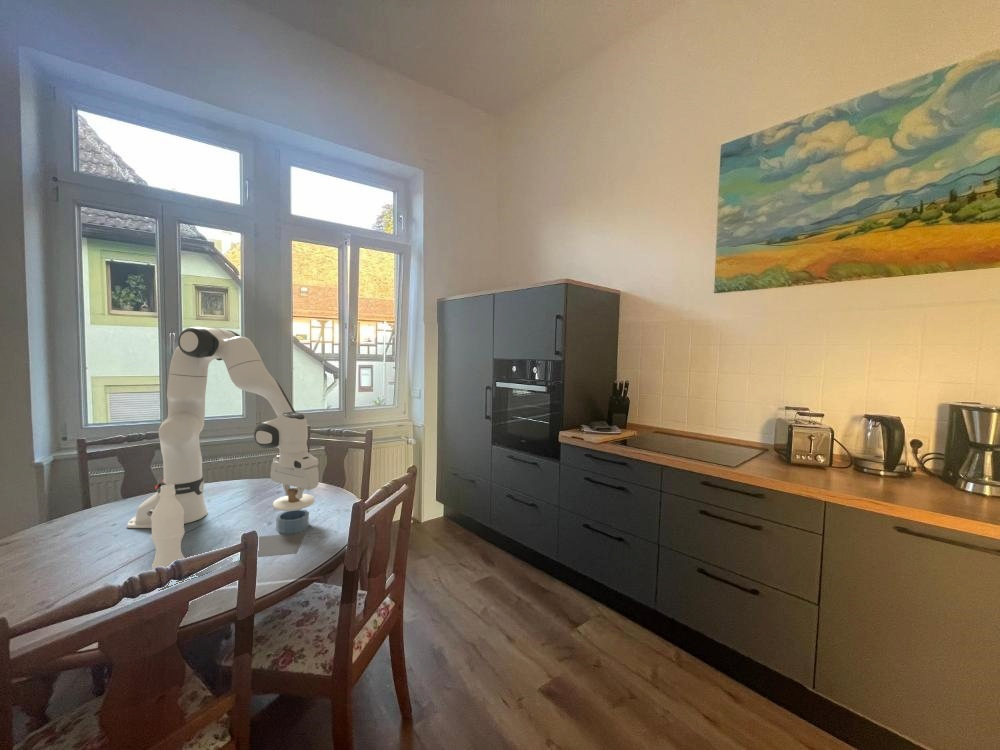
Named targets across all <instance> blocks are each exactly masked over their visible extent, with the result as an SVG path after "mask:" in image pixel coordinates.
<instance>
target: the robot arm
mask: <svg viewBox="0 0 1000 750" xmlns="http://www.w3.org/2000/svg"><path fill="white" fill-rule="evenodd" d="M177 345H178V346H177V347H176V348H175V349H174V352H173V354H172V358H171V361H170V365H169V371H168V379H167V390H166V399H167V417H166V419H164V421H162V422H161V424H160V426H159V428H158V438H159V444H160V445H159V446H160V451H161V455H162V461H163V465H162V467H163V479H162V480H161V481H160V482H159V483H157V485H155V486H154V487H155V490H157V492H156V493H154V494H153V495H151V496H150V497H149V498H147V499H145V501H143V502H142V503H140V504H139V506H138V508H137V509H136V514H135V516H132V518H131V519H130V520H128V521H127V523H126V524H127V525H126V527H127V528H129V529H152V520H151V515H152V513H153V511H154V509H155V507H156V506H157V504H158V502H159V500H160V496H159V494H160V492H161V489H160V487H161V486H163V485H167V484H174V487H175V489H174V490H175V492H176V493H175V497H176V499H177V500H178V502H179V503H180V504H181V506H182V507H183V509H184V524H189V523H193V522H195V521H197V520H200V519H203V518H204V517H205V516H207V515H208V513H209V512H208V509H207V507H206V503H205V497H204V489H205V481H204V476H203V456H202V452H201V444H200V443H201V442H200V433H201V432H202V431H203V429H204V428H205V417H206V416H205V415H206V414H205V413H206V391H207V383H208V382H207V381H208V371H209V365H210V363H211V362H212V361H214V360H217V361H223V362H224V364H225V367H226V370H227V372H228V375H229V378H230V380H231V382H232V383H233V384H234V386H235V387H236V388H238V389H240V390H242V391H244V392H247V393H253V394H256V395H259V396H261V397H263V398H264V399H266V400H267V401H268V402H269V404H270V406H271V407H272V409H273V411H274V413H275V415H276V416H277V417H276V418H274V419H270V420H267V421H264V422H261V423H258V425H257V426H256V427H255V429H254V431H253V439H254V441H255V444H256V445H257V446H258V447H260V448H261V449H269V450H270V449H274V448H278V449H279V451H278V452H279V455H275V456H274V457H273V458H272V463H271V466H270V481H271V482H274V483H279V484H282V487H283V491H284V492H285V493H284V496H288V490H289V489H291V486H292V487H293V488H297V490H298V493H296V494H295V496H296V497H295V498H296V499H301V498H302V497H303V494H304V492H305V490H308V491H311V490H314V489H316V488H317V487H318V485H319V482H320V478H319V477H320V476H319V475H320V474H319V468H318V465H319V459H318V458H317V457H315V456H313V455H312V454H311V453H310V452H308V450H309V449H308V448H309V447H308V445H307V442H308V436H309V432H308V421H307V418H306V416H305V415H304V414H303V413H301V412H296V411H295V408H294V407H293V405H292V404H291V402H290V400H289V398H288V396H287V394H286V392H285V391H284V389H283V387H281V385H280V383H279V382H278V380H276V378H274V377H273V376H272V375H271V374H270V372H269V371H268V370H267V368H266V366H265V364H264V362H263V360H262V358H261V356H260V353H259V351H258V350H257V347H255V344H254V343H253V341H252V340H251V339H250V338H248V337H246V336H241V334H239V333H237V332H234V331H232V330H228V329H227V330H225V329H223V328H217V327H202V326H192V327H189V328H185V329H184V330H182V331H181V333H180V334H179V336H178V340H177Z"/></svg>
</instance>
